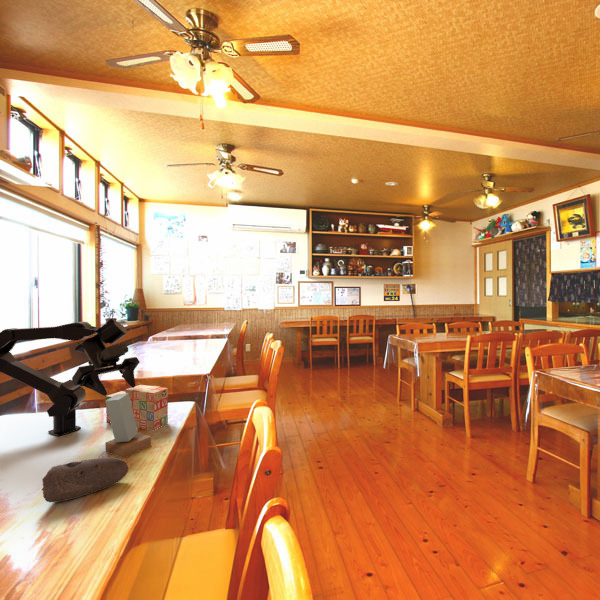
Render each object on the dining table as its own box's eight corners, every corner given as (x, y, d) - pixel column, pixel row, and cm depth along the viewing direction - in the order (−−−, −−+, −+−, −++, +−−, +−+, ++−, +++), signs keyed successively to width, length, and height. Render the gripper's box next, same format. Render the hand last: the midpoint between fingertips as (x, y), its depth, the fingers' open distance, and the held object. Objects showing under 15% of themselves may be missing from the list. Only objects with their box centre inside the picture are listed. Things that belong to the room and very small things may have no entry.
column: (115, 442, 83) (105, 401, 82) (125, 434, 87) (115, 394, 86) (128, 441, 83) (118, 399, 82) (138, 433, 87) (128, 393, 86)
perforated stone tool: (128, 475, 72) (127, 446, 72) (129, 487, 67) (128, 455, 67) (45, 497, 64) (45, 464, 64) (40, 512, 59) (40, 476, 59)
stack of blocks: (105, 423, 104) (105, 387, 105) (121, 416, 110) (121, 382, 110) (153, 431, 97) (153, 392, 97) (168, 423, 103) (168, 387, 103)
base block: (105, 453, 83) (105, 442, 83) (132, 441, 91) (132, 431, 91) (124, 459, 80) (123, 448, 80) (150, 446, 87) (150, 436, 87)
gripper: (77, 339, 89) (101, 381, 84) (135, 333, 105) (158, 367, 101) (62, 364, 92) (84, 406, 87) (121, 354, 109) (142, 389, 104)
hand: (120, 390), depth 95 cm, fingers open, 9 cm apart
